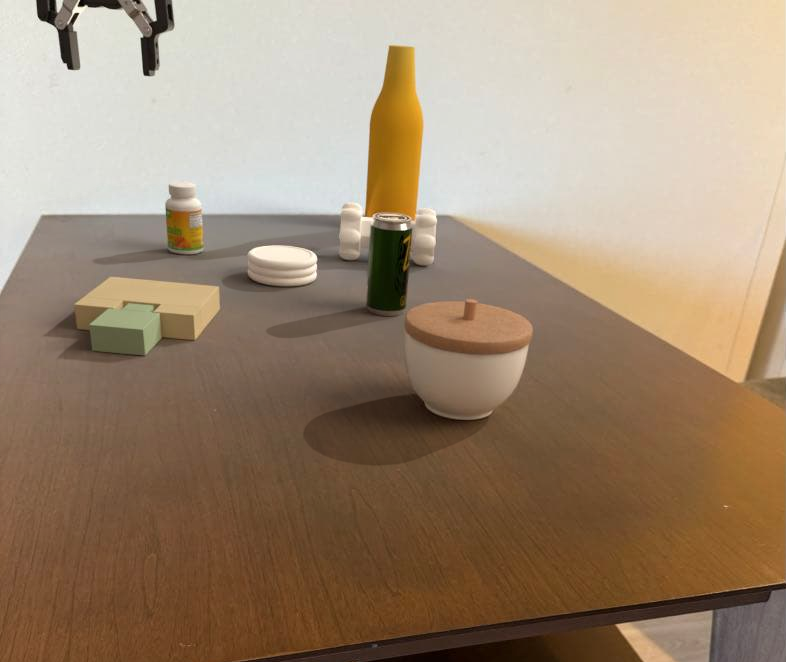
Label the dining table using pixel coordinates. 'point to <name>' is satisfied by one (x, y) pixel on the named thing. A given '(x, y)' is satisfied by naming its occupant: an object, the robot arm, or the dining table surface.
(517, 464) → the dining table surface
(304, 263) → the coaster
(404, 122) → the beer bottle
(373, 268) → the beer can
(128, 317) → the pad
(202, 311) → the notch pad
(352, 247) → the dog bone
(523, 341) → the lidded bowl
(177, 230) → the supplement bottle
